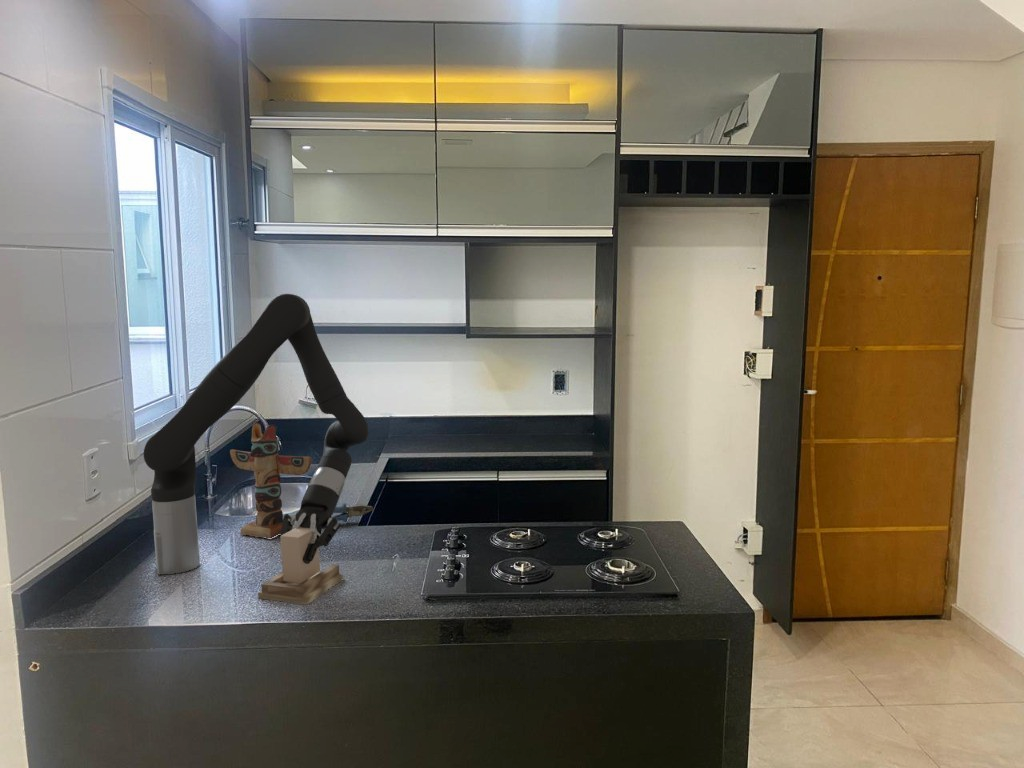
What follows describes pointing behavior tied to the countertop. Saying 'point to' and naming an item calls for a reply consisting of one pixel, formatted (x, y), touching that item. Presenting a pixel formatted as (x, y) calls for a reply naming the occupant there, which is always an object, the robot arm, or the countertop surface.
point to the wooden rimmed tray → (300, 587)
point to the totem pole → (267, 479)
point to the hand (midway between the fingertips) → (295, 560)
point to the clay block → (297, 556)
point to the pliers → (351, 511)
